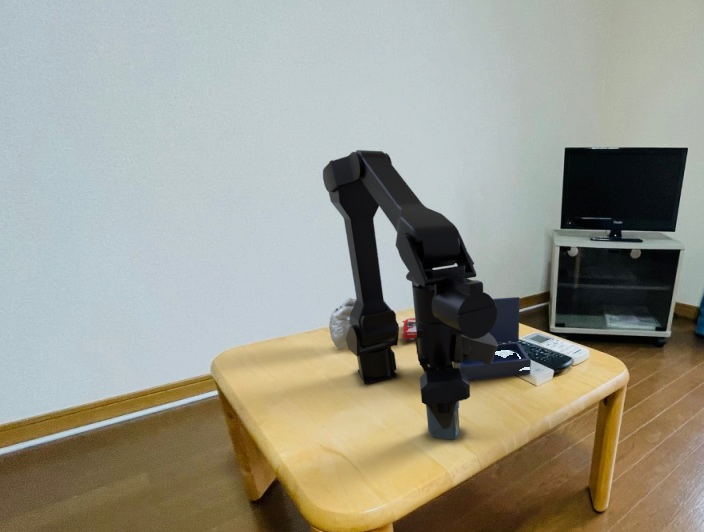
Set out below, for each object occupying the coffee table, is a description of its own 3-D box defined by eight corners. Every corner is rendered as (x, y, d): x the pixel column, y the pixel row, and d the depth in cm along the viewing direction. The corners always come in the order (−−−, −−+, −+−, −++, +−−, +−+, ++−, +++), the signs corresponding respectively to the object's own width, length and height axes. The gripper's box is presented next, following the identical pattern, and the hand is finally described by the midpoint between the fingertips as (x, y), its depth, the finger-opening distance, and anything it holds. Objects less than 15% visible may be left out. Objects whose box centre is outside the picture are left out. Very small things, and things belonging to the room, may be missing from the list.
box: (530, 373, 82) (530, 359, 81) (461, 381, 79) (460, 367, 77) (518, 355, 91) (518, 341, 89) (454, 361, 87) (454, 347, 86)
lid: (519, 297, 84) (514, 291, 89) (451, 302, 81) (449, 295, 85) (518, 341, 89) (513, 333, 93) (454, 346, 85) (451, 338, 90)
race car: (405, 325, 107) (403, 311, 105) (425, 324, 108) (424, 310, 106) (400, 344, 95) (398, 329, 94) (423, 343, 96) (422, 328, 94)
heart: (341, 333, 100) (328, 290, 93) (377, 334, 99) (366, 292, 93) (322, 356, 92) (306, 311, 85) (361, 358, 91) (347, 312, 84)
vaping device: (457, 441, 61) (454, 373, 56) (426, 436, 62) (419, 369, 57) (463, 431, 64) (459, 365, 59) (432, 427, 64) (426, 361, 59)
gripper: (508, 336, 48) (507, 439, 55) (480, 294, 65) (482, 377, 71) (416, 344, 46) (426, 452, 52) (411, 299, 62) (420, 385, 69)
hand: (443, 411), depth 61 cm, fingers open, 9 cm apart
